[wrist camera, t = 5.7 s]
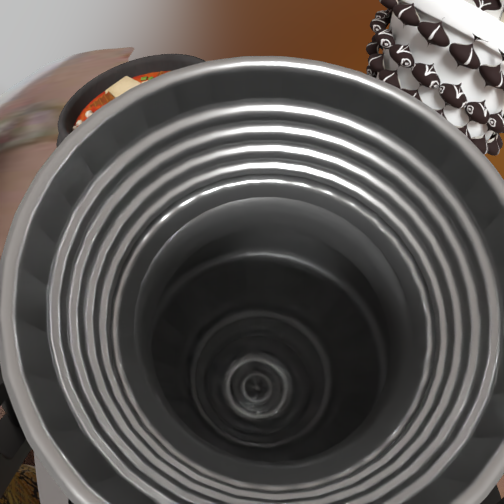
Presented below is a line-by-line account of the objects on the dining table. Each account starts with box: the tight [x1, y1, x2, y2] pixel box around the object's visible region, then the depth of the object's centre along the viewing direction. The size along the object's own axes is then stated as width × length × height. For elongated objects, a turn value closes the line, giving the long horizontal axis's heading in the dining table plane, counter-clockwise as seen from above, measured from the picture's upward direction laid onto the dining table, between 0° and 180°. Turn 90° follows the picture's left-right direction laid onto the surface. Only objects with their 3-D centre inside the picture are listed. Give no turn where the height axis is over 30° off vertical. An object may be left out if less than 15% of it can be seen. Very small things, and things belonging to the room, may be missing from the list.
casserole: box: [57, 54, 206, 147], centre depth 26 cm, size 25×19×8 cm
